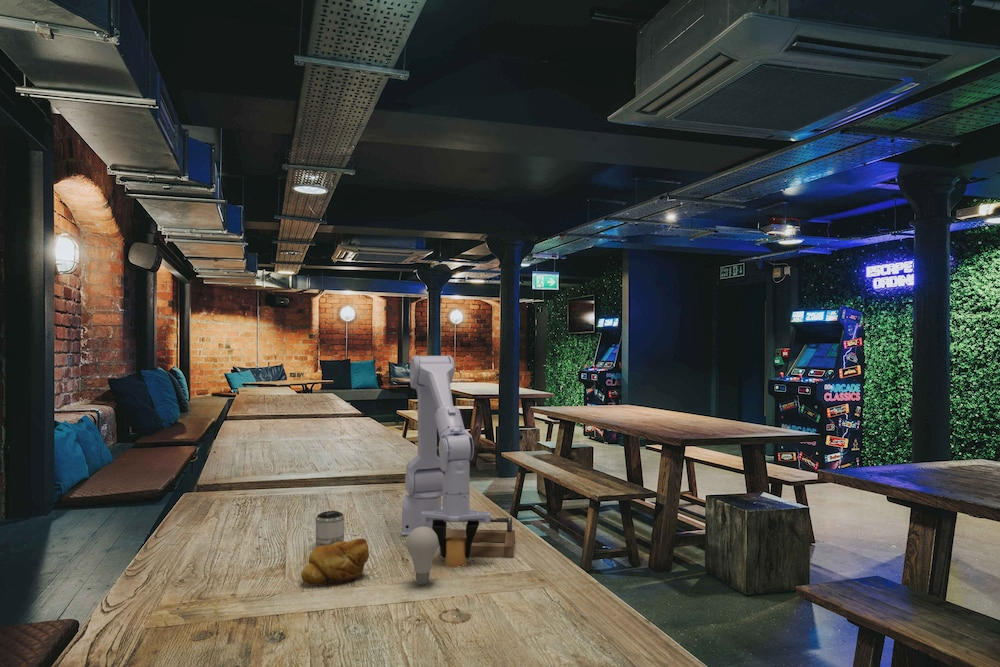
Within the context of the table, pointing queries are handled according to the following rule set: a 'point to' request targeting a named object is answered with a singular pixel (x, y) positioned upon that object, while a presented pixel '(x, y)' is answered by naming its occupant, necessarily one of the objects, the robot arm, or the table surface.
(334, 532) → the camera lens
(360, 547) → the bread roll
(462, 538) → the orange rounded capsule
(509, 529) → the hook
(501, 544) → the brown square frame
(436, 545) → the lightbulb
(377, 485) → the table surface
